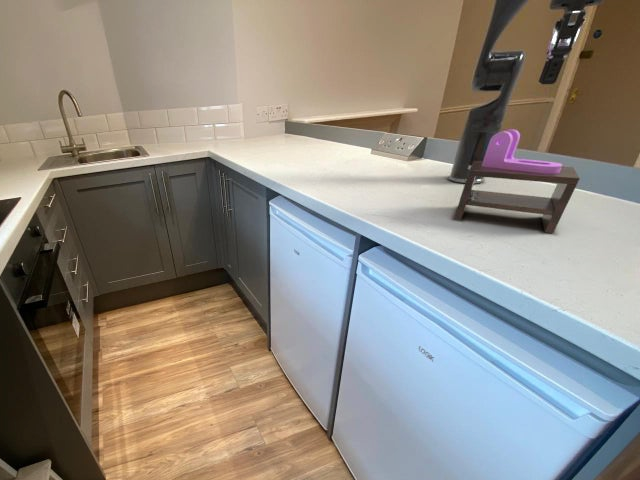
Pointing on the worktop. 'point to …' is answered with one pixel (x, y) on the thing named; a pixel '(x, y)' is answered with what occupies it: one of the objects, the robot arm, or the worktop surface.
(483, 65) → the robot arm
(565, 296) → the worktop surface
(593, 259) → the worktop surface
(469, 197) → the shelf
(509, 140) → the bracket
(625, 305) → the worktop surface
